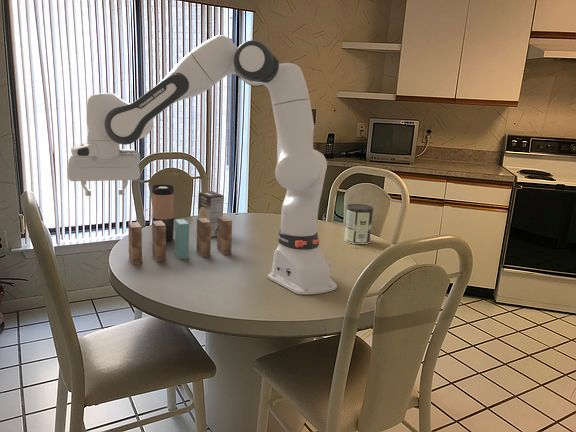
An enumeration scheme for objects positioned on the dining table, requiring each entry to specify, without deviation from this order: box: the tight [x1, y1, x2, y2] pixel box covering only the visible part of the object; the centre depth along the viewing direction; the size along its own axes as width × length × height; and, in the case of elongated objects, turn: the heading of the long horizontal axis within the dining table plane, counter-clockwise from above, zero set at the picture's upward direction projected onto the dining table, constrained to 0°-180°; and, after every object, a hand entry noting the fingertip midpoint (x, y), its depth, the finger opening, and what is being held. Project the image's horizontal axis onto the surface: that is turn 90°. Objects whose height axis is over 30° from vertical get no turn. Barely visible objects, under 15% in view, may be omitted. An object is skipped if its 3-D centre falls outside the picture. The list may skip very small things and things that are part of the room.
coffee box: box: [197, 190, 224, 238], centre depth 186 cm, size 9×6×16 cm
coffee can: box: [343, 203, 374, 245], centre depth 187 cm, size 10×10×14 cm
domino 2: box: [174, 218, 190, 260], centre depth 158 cm, size 3×6×12 cm, turn 27°
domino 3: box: [196, 217, 212, 258], centre depth 162 cm, size 3×6×12 cm, turn 27°
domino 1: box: [151, 220, 167, 262], centre depth 155 cm, size 3×6×12 cm, turn 27°
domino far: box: [127, 221, 143, 265], centre depth 152 cm, size 3×6×12 cm, turn 27°
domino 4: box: [216, 215, 233, 256], centre depth 165 cm, size 3×6×12 cm, turn 27°
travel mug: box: [151, 184, 175, 243], centre depth 174 cm, size 8×8×20 cm
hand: (105, 195), depth 144 cm, fingers open, 8 cm apart
